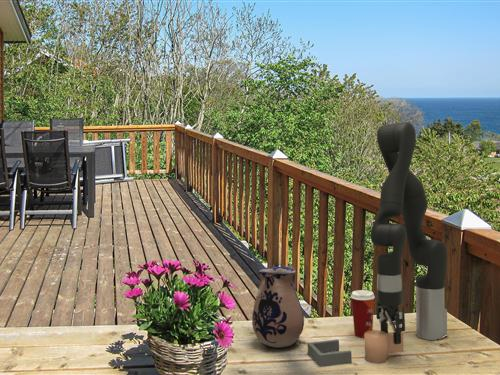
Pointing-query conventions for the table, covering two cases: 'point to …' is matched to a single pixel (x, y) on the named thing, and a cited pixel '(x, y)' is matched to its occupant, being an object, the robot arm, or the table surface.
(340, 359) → the charcoal holder
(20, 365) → the table surface
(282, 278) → the ceramic pitcher
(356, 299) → the coffee cup
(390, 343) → the peach mallet
